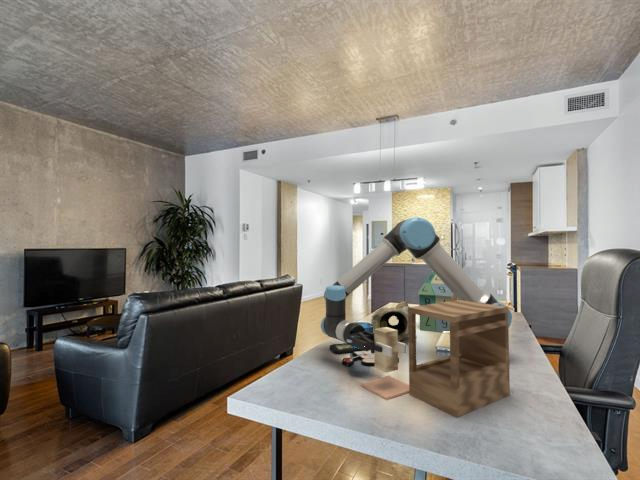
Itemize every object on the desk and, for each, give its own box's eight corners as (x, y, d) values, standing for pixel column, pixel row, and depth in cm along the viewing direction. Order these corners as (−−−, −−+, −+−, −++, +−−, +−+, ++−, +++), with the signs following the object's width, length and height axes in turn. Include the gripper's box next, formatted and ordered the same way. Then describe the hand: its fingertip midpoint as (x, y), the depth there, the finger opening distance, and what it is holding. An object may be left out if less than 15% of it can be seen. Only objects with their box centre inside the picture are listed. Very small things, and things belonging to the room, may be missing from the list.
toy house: (459, 327, 180) (458, 270, 180) (453, 334, 166) (452, 272, 167) (426, 324, 189) (425, 269, 190) (417, 330, 175) (416, 271, 176)
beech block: (386, 364, 110) (386, 326, 110) (398, 369, 105) (397, 330, 105) (374, 367, 107) (374, 329, 107) (385, 372, 103) (385, 332, 103)
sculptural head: (377, 304, 180) (359, 307, 158) (417, 299, 170) (404, 300, 149) (382, 339, 176) (365, 346, 155) (424, 335, 167) (411, 342, 145)
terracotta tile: (388, 377, 114) (388, 375, 114) (416, 390, 104) (416, 388, 104) (360, 385, 108) (360, 383, 108) (386, 400, 98) (386, 397, 98)
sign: (383, 339, 155) (419, 361, 126) (383, 343, 155) (419, 366, 126) (326, 345, 148) (350, 369, 119) (326, 349, 148) (350, 374, 119)
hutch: (461, 377, 114) (460, 299, 114) (509, 395, 100) (508, 306, 100) (409, 394, 101) (408, 307, 101) (456, 417, 87) (454, 316, 88)
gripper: (371, 340, 126) (420, 357, 106) (329, 348, 117) (375, 369, 97) (370, 319, 126) (419, 333, 106) (329, 325, 117) (374, 342, 97)
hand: (398, 350), depth 102 cm, fingers closed on beech block, 5 cm apart
